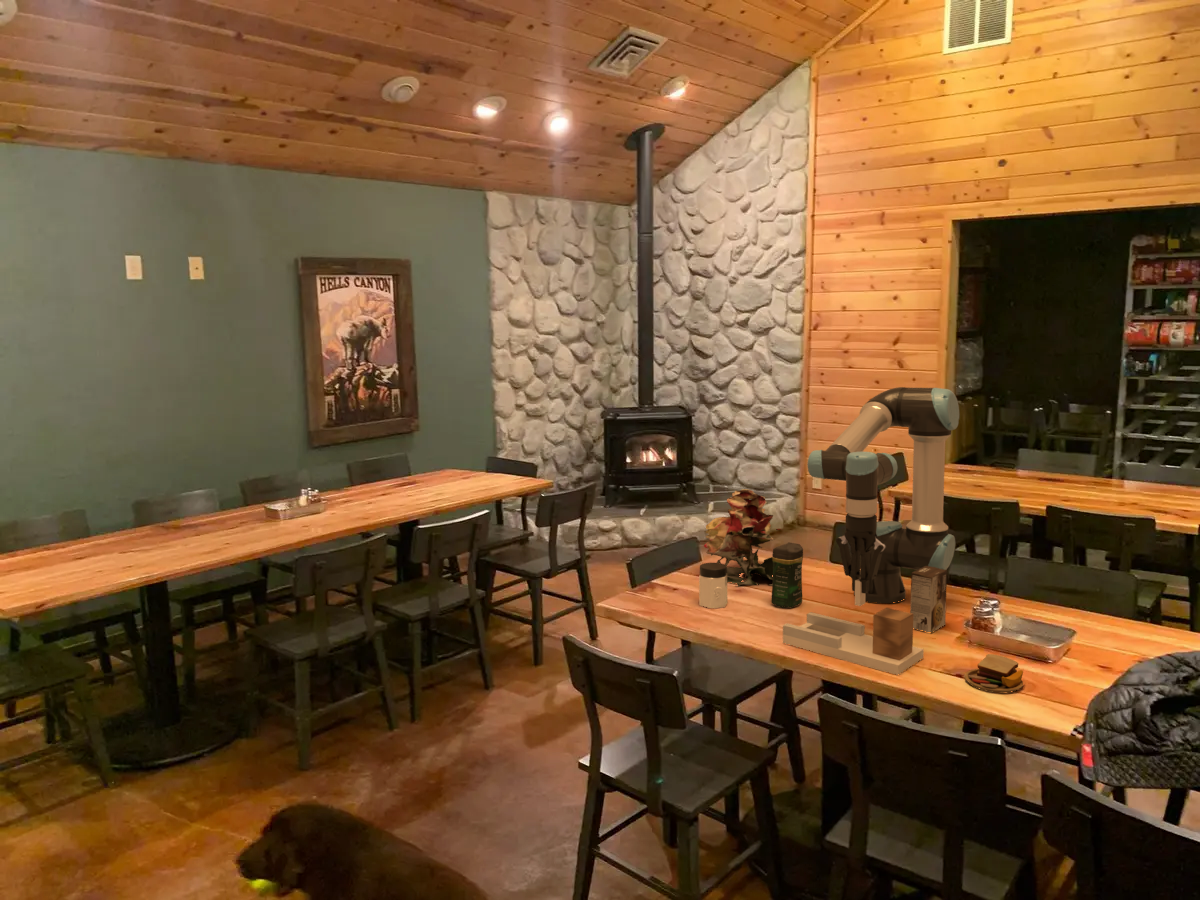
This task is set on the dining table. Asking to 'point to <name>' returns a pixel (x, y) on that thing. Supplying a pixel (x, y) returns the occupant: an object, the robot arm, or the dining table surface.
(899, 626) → the walnut block
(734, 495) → the rose bouquet
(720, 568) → the jar
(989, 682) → the toy sandwich meal
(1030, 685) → the dining table surface
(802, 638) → the slotted wooden base
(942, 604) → the coffee box
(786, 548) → the coffee jar
